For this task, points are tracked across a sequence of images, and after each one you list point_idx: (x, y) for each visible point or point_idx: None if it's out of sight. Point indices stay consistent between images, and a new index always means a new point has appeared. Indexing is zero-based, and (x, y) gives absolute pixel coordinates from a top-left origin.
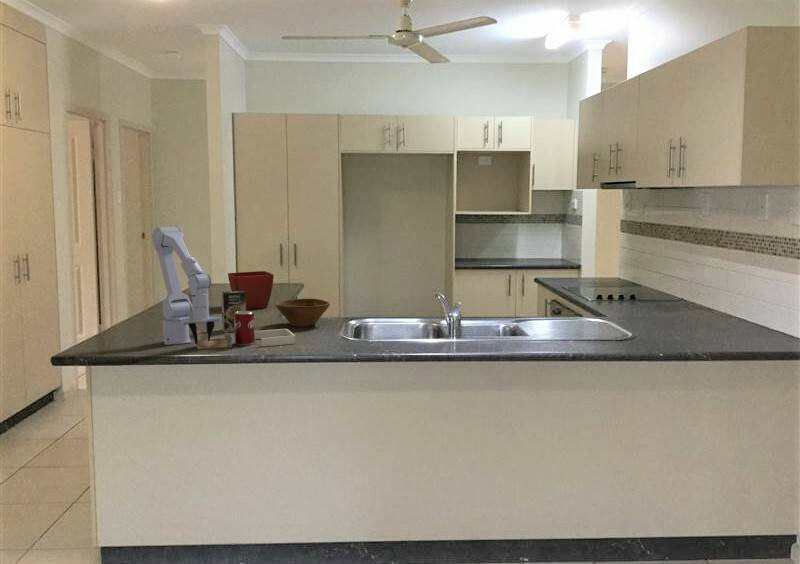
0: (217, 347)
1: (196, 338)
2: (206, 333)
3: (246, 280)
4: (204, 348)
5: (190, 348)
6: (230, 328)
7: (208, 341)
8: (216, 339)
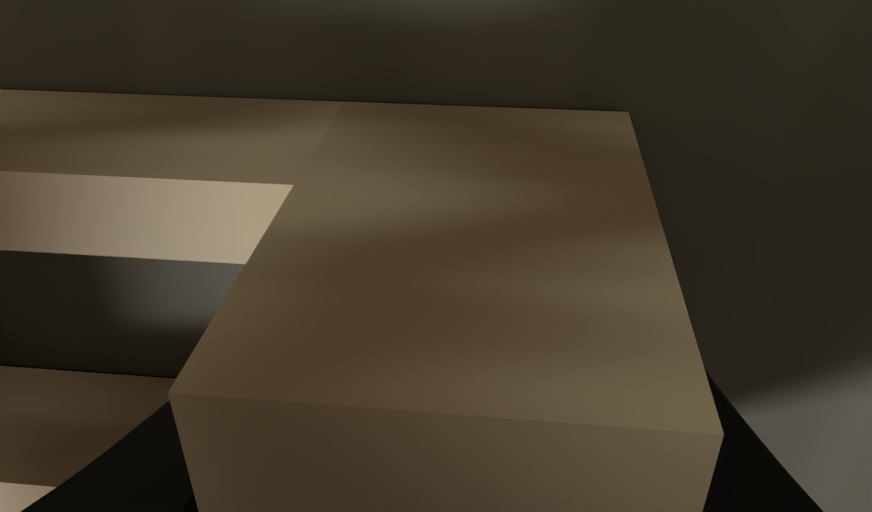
0: (101, 99)
1: None
2: (241, 468)
3: None
4: (449, 109)
5: (767, 319)
6: None
7: None
8: None
